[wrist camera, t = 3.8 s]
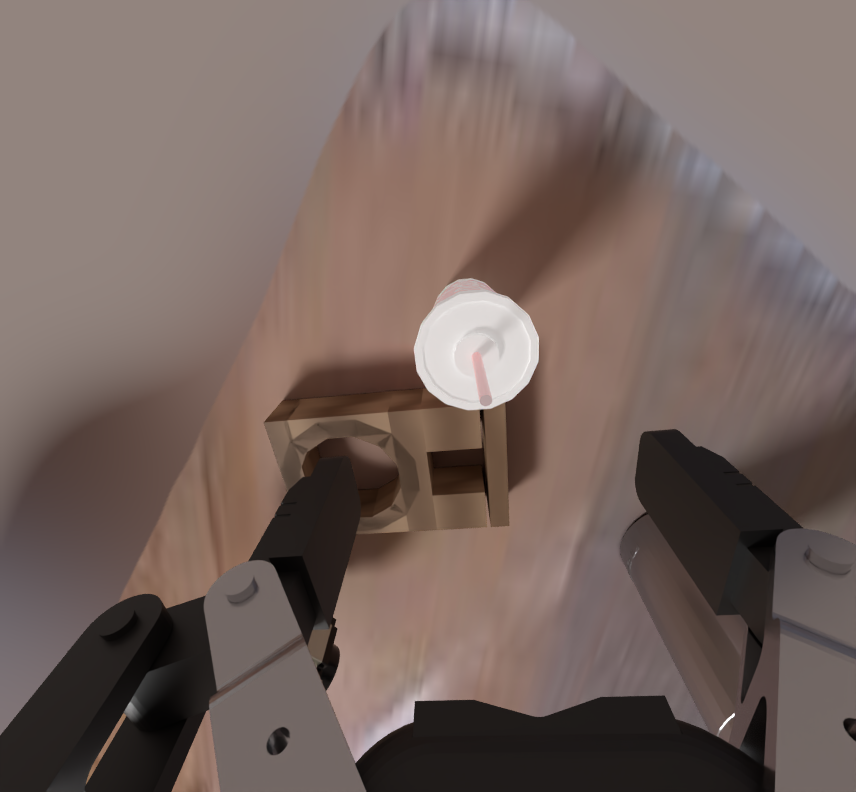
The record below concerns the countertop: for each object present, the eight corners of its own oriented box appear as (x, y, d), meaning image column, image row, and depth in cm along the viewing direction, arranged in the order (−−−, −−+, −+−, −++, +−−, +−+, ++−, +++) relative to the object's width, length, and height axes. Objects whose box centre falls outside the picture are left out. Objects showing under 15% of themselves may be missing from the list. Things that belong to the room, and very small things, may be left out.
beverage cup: (519, 271, 26) (590, 328, 13) (503, 357, 28) (549, 475, 16) (427, 261, 26) (409, 310, 13) (419, 349, 28) (399, 460, 16)
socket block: (498, 381, 29) (505, 402, 26) (503, 496, 34) (509, 525, 31) (282, 400, 31) (263, 422, 27) (315, 508, 35) (302, 537, 32)
